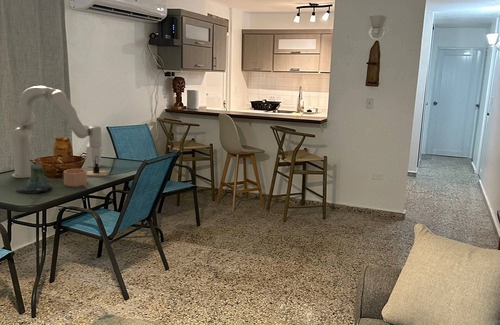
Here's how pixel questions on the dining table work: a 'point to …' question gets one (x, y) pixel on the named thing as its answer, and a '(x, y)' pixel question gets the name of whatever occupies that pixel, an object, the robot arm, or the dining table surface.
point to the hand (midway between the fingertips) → (96, 171)
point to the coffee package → (62, 147)
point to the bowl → (75, 177)
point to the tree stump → (35, 181)
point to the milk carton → (88, 152)
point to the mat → (103, 176)
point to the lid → (92, 174)
